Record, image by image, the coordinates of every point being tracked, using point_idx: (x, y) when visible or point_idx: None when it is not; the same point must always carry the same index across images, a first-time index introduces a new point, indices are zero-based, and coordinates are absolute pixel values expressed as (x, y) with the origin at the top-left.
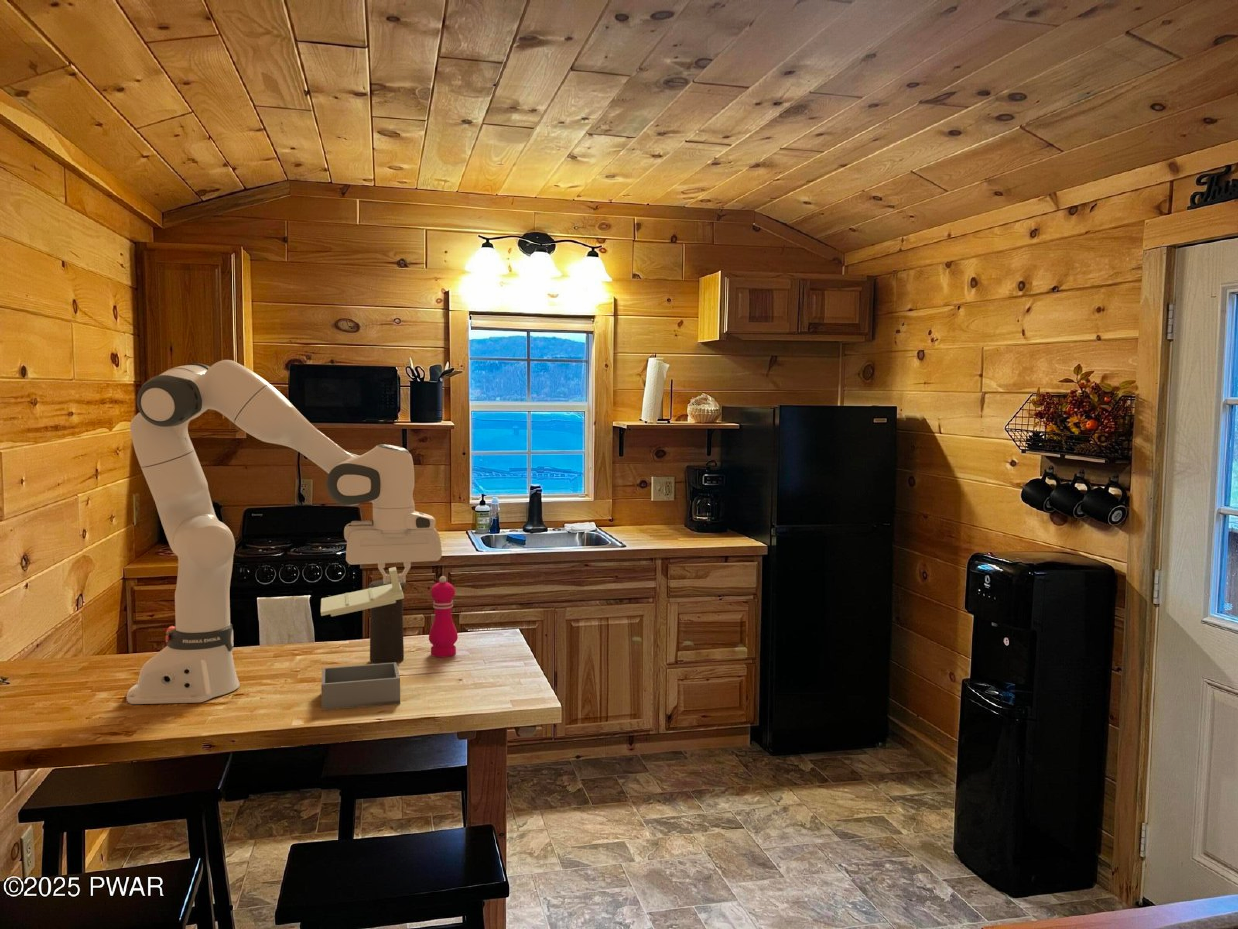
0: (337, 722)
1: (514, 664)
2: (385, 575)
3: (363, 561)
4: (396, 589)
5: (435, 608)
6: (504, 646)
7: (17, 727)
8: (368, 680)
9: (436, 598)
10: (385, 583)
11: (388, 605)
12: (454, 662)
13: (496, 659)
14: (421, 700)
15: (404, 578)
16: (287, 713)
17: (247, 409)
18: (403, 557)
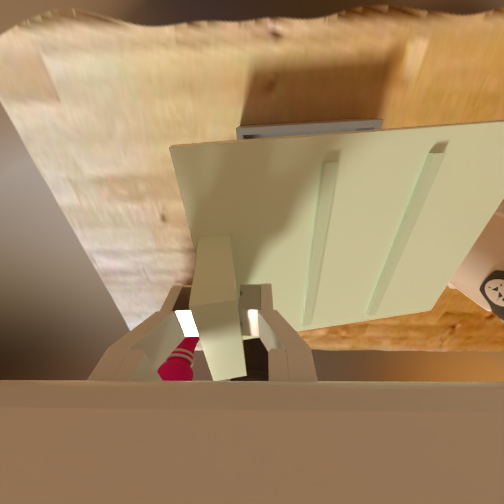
0: (350, 32)
1: (106, 259)
2: (263, 310)
3: (472, 404)
4: (215, 241)
5: (191, 352)
6: (135, 313)
7: None
8: (294, 127)
9: (183, 364)
10: (263, 284)
11: (253, 350)
12: (181, 278)
13: (133, 279)
14: (207, 135)
15: (172, 296)
16: (415, 116)
17: None
18: (96, 427)
